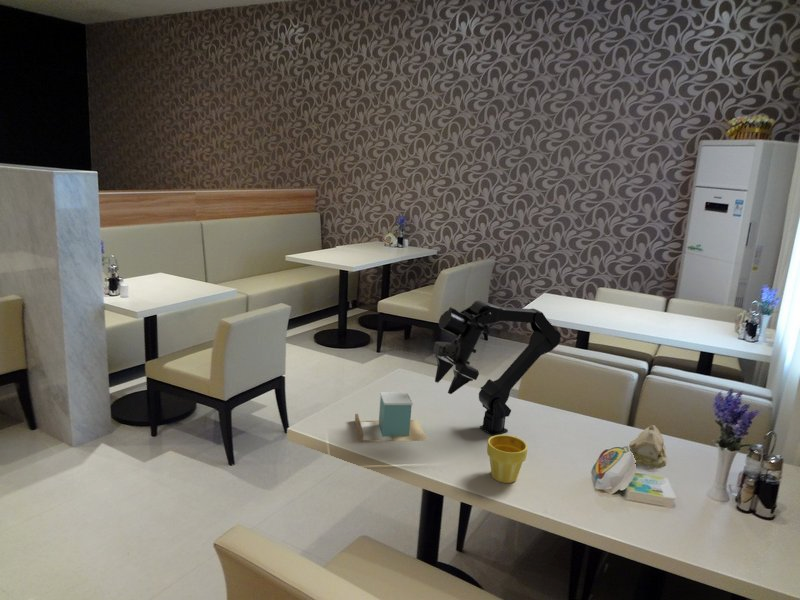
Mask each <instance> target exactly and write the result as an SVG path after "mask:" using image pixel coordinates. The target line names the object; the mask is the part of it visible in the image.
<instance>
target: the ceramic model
mask: <svg viewBox="0 0 800 600" xmlns="http://www.w3.org/2000/svg"><path fill="white" fill-rule="evenodd" d="M664 443H665V441H664V437H663V435H662V433H661V432H660V430H659V429H658V428H657V427H656V425H653V424H650V425H649V426H648V427H646V428H645V429H643V431H641V432H640V433H639V434H638V435H637V437H636V438H635V439H633V440H631V441H630V442H629V445H628V447H629V449H630V451H631V452H632V453H633V455H634V458H635V460H636V463H635V464H636V465H637V464H638V465H641V466H647V467H650V468H656V469H657V468H663V467H665V466H666V465H667V461H668V460H667V452H666V446H665V444H664Z"/></svg>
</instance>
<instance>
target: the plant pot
mask: <svg viewBox="0 0 800 600" xmlns="http://www.w3.org/2000/svg"><path fill="white" fill-rule="evenodd" d="M486 452H487V456H488V457H489V461H490V462H489V463H490V470H491V471H490V472H491V477H492V479H494V480H495V481H497V482H500V483H505V484H511V483H515V481H517V479H518V477H519V474H520V471H521V468H522V465H523V463H524V462H525V461H526V459H527V454H528V445H527V442H525V440H523V439H522V438H520V437H517V436H513V435H509V434H498V435H491V437H489V438H488V440H487V446H486Z"/></svg>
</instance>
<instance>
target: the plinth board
mask: <svg viewBox="0 0 800 600" xmlns="http://www.w3.org/2000/svg"><path fill="white" fill-rule="evenodd" d="M354 423H355V428H356V430H357V431H356V432H357V435H358V440H359V442H360V443H370V442H371V443H375V442H378V443H379V442H383V443H384V442H412V441H413V442H416V441H418V442H419V441H421V442H423V441H428V438H427V436H426V434H425V432H424V430H423V427H422V426H421V424H420V422H419V420H418V419H410V431H409V436H382V433H381V430H380V427H379V420H360V416H359V413H355V414H354Z"/></svg>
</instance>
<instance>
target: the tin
mask: <svg viewBox="0 0 800 600" xmlns="http://www.w3.org/2000/svg"><path fill="white" fill-rule="evenodd" d="M379 396H380V397H379V398H380V399H379V400H380V401H379V414H378V421H379V427H380V430H381V433H382V436H409V431H410V420H412V419H411V418H412V406H413V403H414V402H413V401H412V399H411V397H410V396H409V393H408V392H407V391H390V392H389V391H380V392H379Z"/></svg>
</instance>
